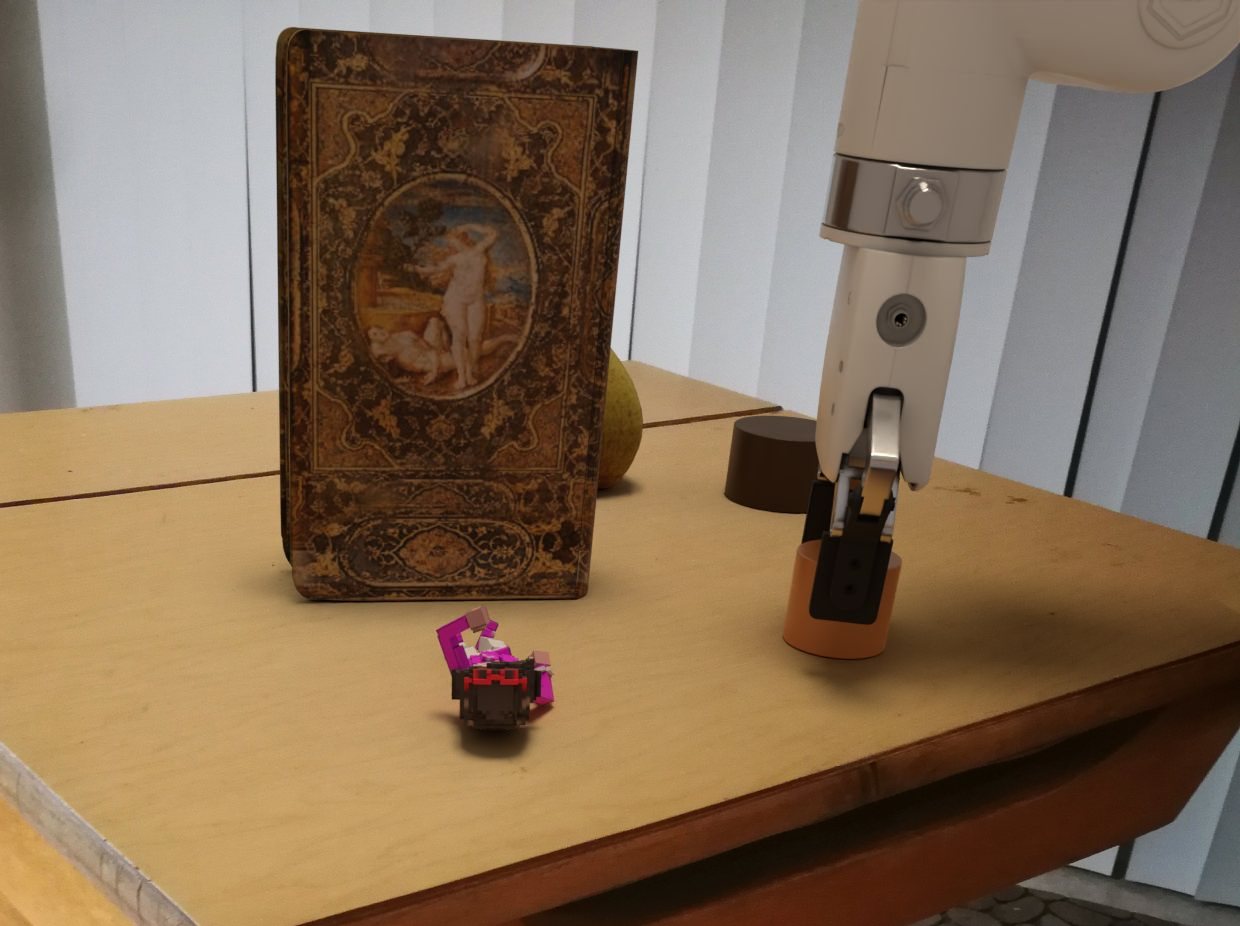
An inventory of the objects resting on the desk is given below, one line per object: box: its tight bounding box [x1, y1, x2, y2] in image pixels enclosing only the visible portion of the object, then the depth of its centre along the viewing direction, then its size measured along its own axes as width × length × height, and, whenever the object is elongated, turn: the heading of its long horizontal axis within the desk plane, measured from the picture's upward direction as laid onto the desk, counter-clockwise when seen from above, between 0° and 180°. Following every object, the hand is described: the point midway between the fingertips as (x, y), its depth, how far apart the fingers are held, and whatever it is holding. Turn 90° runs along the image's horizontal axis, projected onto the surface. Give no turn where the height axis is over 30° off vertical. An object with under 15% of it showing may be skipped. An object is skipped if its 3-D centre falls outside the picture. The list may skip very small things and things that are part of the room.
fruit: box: [597, 348, 644, 490], centre depth 99 cm, size 9×9×12 cm
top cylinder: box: [782, 539, 903, 660], centre depth 77 cm, size 5×5×4 cm
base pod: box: [724, 415, 827, 514], centre depth 101 cm, size 7×7×4 cm
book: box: [274, 26, 639, 602], centre depth 76 cm, size 16×6×25 cm, turn 102°
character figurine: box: [435, 604, 555, 732], centre depth 67 cm, size 6×5×12 cm
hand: (834, 588), depth 77 cm, fingers open, 9 cm apart
